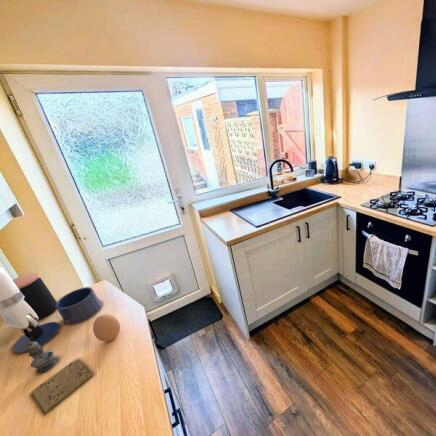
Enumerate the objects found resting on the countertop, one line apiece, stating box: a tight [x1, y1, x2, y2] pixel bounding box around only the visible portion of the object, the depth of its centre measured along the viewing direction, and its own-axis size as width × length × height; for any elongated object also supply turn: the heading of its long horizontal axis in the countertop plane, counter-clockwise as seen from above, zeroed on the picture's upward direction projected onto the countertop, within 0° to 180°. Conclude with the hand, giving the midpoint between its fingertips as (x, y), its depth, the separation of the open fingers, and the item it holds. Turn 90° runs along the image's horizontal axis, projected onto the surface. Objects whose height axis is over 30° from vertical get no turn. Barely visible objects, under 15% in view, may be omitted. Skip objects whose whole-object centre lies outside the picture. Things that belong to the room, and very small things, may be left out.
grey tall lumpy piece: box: [25, 341, 58, 374], centre depth 82 cm, size 6×6×12 cm
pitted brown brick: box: [31, 359, 92, 414], centre depth 77 cm, size 12×12×1 cm
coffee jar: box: [12, 272, 58, 322], centre depth 105 cm, size 11×11×18 cm
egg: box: [92, 313, 121, 342], centre depth 90 cm, size 8×8×11 cm
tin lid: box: [12, 321, 61, 354], centre depth 95 cm, size 14×14×6 cm
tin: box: [55, 286, 102, 325], centre depth 105 cm, size 13×13×8 cm
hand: (36, 335), depth 95 cm, fingers closed on tin lid, 2 cm apart
